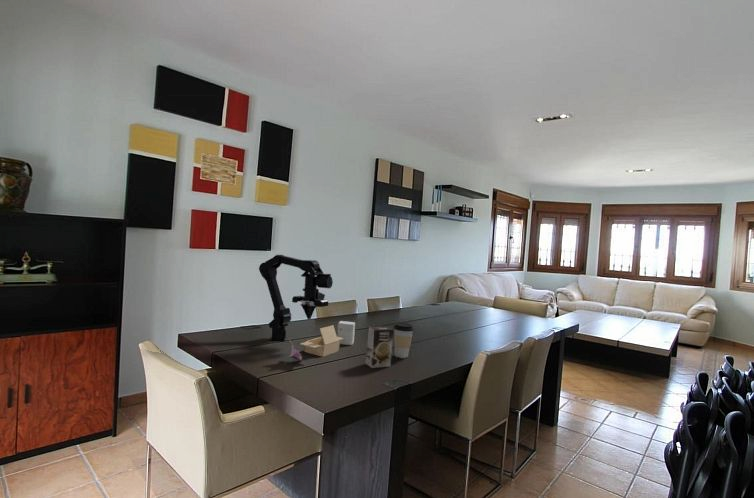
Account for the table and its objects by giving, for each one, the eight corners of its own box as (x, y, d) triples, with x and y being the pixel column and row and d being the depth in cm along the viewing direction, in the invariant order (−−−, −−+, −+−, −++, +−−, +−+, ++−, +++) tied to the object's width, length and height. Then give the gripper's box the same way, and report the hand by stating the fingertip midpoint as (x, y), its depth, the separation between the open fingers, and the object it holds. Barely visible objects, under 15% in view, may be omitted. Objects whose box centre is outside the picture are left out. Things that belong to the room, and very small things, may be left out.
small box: (353, 342, 203) (355, 322, 203) (352, 345, 197) (353, 324, 197) (338, 341, 204) (340, 320, 203) (336, 343, 198) (338, 322, 198)
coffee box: (371, 368, 165) (375, 329, 165) (365, 363, 171) (368, 326, 170) (390, 366, 169) (394, 329, 169) (383, 362, 175) (386, 325, 175)
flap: (319, 328, 178) (320, 328, 178) (332, 325, 186) (333, 325, 186) (324, 344, 176) (325, 344, 176) (337, 340, 185) (338, 340, 185)
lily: (298, 373, 155) (311, 350, 158) (272, 358, 156) (285, 336, 159) (301, 372, 167) (313, 351, 169) (277, 358, 168) (289, 338, 170)
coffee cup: (414, 356, 188) (416, 324, 188) (407, 360, 180) (409, 328, 179) (395, 352, 192) (398, 321, 192) (387, 356, 184) (390, 324, 183)
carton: (296, 353, 176) (297, 342, 176) (326, 344, 196) (327, 334, 195) (315, 359, 171) (316, 347, 171) (345, 348, 190) (345, 338, 190)
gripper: (336, 287, 192) (334, 319, 192) (308, 283, 202) (306, 314, 202) (320, 289, 182) (319, 323, 183) (292, 285, 193) (290, 317, 193)
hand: (309, 319), depth 190 cm, fingers closed
